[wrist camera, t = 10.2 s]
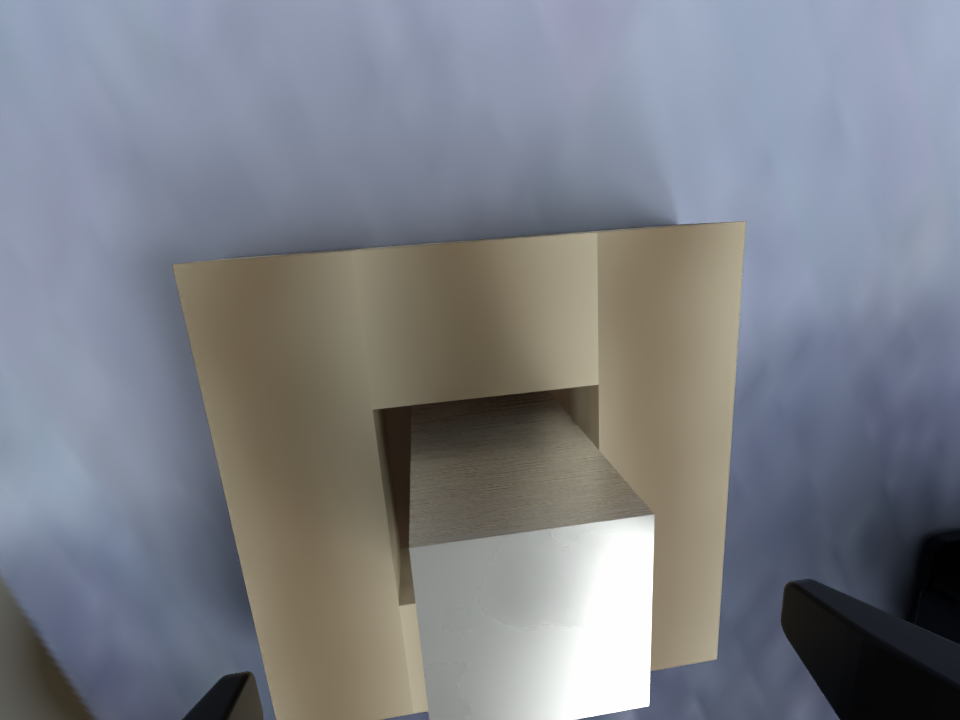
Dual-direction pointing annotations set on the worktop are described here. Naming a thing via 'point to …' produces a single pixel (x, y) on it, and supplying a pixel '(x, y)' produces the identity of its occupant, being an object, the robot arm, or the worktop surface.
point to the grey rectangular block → (526, 564)
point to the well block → (448, 377)
